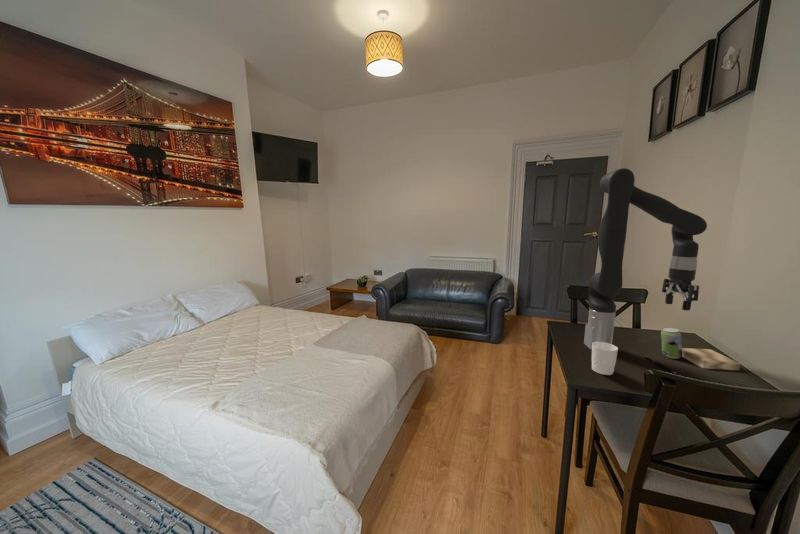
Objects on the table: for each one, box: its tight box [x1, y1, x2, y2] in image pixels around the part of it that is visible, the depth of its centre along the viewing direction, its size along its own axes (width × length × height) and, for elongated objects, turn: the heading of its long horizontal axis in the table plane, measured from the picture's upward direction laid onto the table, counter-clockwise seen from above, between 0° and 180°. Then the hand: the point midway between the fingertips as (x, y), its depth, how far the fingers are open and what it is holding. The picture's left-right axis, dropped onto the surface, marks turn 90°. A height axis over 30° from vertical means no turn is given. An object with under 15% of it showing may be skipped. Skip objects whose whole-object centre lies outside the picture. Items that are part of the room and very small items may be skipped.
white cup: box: [591, 342, 619, 376], centre depth 106 cm, size 8×8×10 cm
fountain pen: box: [643, 355, 678, 374], centre depth 110 cm, size 14×1×2 cm, turn 2°
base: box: [681, 347, 741, 371], centre depth 112 cm, size 12×12×3 cm
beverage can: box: [660, 327, 683, 359], centre depth 116 cm, size 6×7×12 cm
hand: (676, 306), depth 114 cm, fingers open, 8 cm apart
